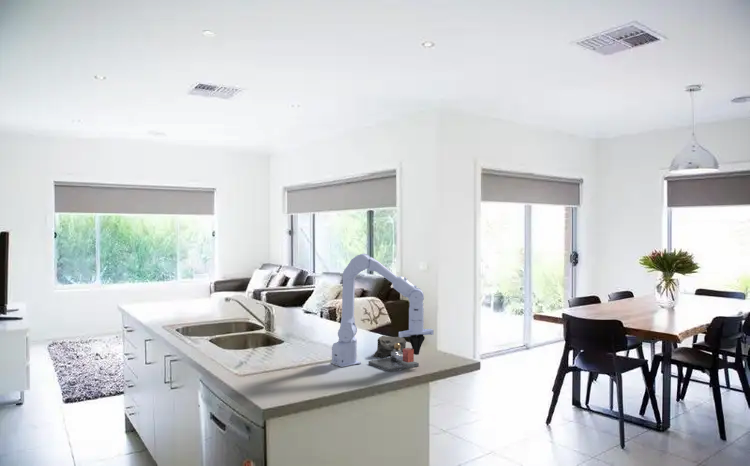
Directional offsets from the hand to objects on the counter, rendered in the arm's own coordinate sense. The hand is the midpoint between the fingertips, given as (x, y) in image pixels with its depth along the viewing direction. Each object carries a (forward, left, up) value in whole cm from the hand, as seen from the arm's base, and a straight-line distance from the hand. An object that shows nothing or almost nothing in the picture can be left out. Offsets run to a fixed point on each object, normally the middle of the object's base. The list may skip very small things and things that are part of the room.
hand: (416, 354), depth 204 cm
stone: (+3, +21, -5) cm, 22 cm away
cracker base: (-7, +5, -4) cm, 10 cm away
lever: (-4, +4, -3) cm, 6 cm away
